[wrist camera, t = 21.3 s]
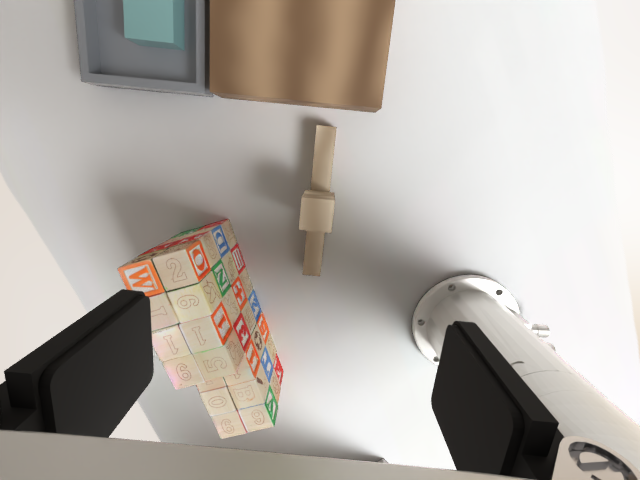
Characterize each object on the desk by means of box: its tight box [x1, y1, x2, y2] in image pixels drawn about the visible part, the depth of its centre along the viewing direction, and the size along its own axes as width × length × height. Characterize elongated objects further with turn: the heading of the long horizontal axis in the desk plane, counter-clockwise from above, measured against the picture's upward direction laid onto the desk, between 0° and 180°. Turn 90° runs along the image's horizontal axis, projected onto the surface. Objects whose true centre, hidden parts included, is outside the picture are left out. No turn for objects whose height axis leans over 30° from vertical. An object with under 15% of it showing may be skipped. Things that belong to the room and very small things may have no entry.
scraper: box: [299, 125, 337, 276], centre depth 34 cm, size 3×16×8 cm, turn 174°
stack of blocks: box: [118, 219, 283, 439], centre depth 36 cm, size 21×6×12 cm, turn 16°
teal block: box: [123, 0, 185, 51], centre depth 32 cm, size 4×4×2 cm
